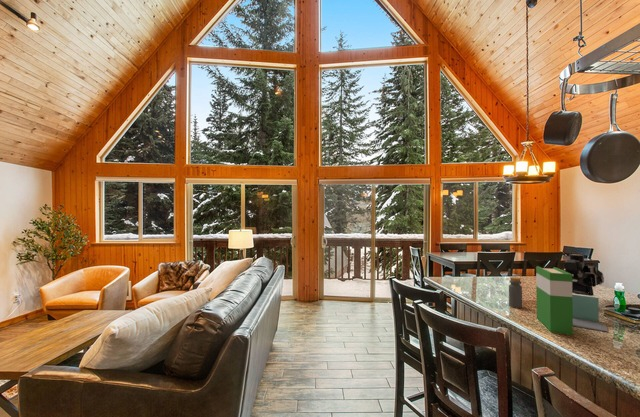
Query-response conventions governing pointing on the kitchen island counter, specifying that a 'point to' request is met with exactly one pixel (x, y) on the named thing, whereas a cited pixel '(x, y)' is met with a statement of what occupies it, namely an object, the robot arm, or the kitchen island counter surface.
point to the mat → (589, 325)
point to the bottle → (515, 292)
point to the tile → (585, 307)
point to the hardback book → (554, 300)
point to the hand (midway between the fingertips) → (565, 280)
